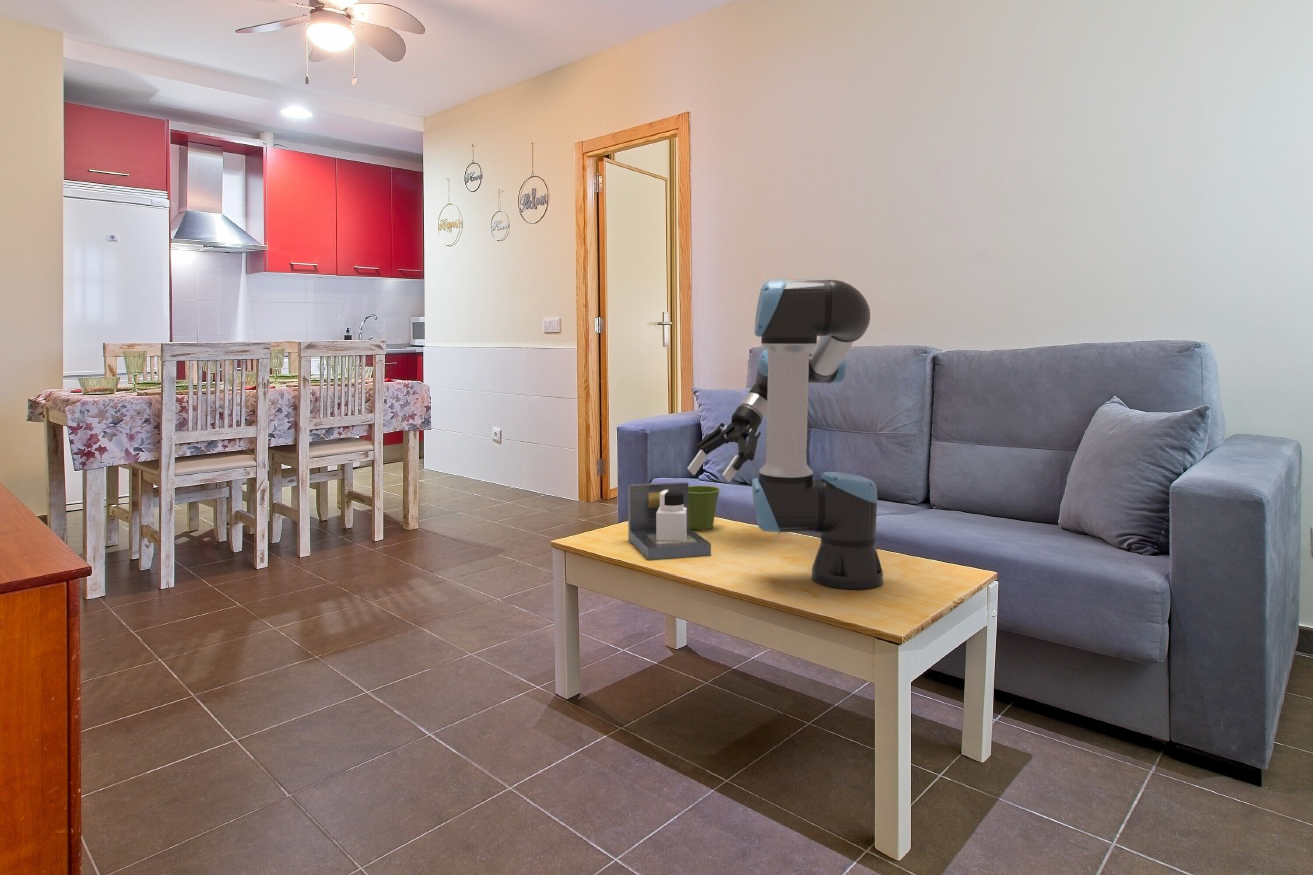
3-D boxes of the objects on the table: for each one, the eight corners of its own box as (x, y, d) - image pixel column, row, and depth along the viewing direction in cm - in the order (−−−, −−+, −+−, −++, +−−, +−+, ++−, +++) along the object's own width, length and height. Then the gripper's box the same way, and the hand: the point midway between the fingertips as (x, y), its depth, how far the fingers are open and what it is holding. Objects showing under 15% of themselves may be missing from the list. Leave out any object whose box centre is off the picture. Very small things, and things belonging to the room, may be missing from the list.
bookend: (710, 555, 189) (711, 495, 187) (648, 560, 184) (647, 498, 183) (685, 536, 208) (686, 481, 206) (628, 540, 204) (628, 484, 202)
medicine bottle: (686, 534, 196) (686, 488, 195) (684, 541, 189) (685, 493, 188) (658, 533, 197) (658, 487, 196) (656, 540, 190) (656, 492, 189)
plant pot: (701, 521, 227) (701, 483, 225) (729, 528, 217) (729, 489, 216) (670, 526, 219) (670, 488, 218) (697, 534, 210) (697, 494, 209)
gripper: (791, 426, 197) (749, 490, 190) (725, 420, 217) (684, 477, 210) (777, 407, 194) (733, 471, 186) (711, 402, 213) (669, 460, 206)
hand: (707, 475), depth 198 cm, fingers open, 13 cm apart
